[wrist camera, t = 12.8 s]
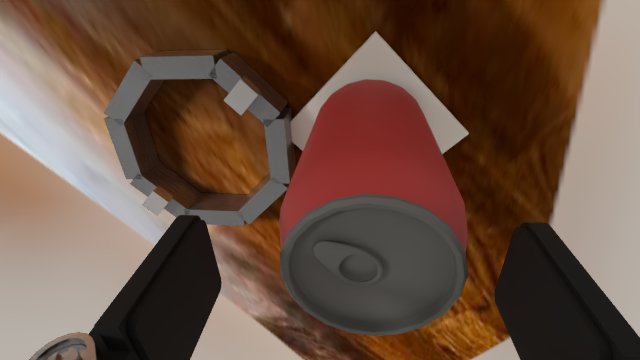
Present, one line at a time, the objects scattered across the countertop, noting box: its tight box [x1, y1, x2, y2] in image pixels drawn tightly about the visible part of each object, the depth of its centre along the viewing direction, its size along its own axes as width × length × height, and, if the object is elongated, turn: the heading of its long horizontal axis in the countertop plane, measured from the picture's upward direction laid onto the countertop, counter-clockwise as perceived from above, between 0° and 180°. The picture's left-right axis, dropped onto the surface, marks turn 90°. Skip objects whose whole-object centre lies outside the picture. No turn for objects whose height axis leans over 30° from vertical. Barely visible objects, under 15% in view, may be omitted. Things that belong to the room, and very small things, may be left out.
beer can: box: [280, 79, 468, 336], centre depth 15 cm, size 7×7×12 cm
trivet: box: [290, 31, 469, 154], centre depth 21 cm, size 8×8×1 cm
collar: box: [104, 49, 296, 226], centre depth 21 cm, size 11×12×3 cm
